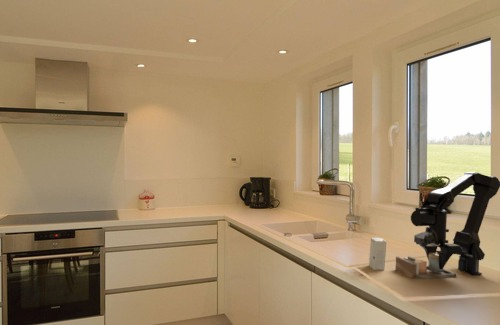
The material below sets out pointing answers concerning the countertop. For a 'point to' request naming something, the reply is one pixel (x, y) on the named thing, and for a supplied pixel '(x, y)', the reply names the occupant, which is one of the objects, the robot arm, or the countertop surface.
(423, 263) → the jar
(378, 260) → the skincare box
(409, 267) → the lane
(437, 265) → the slate jar
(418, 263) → the pusher
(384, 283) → the countertop surface
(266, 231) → the countertop surface
